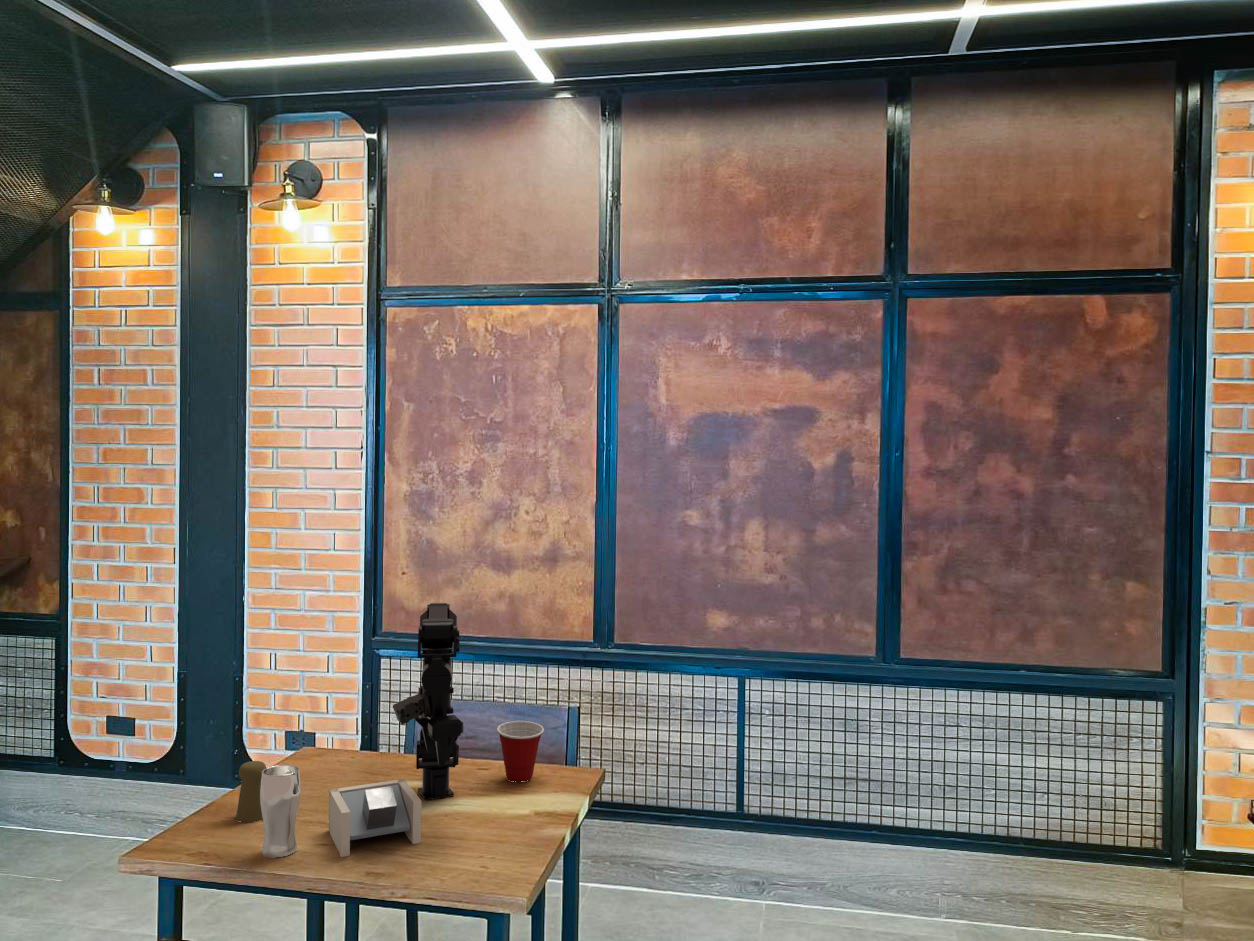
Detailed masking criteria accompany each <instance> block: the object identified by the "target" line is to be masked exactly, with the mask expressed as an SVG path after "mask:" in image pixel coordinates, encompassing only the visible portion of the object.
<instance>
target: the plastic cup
mask: <svg viewBox="0 0 1254 941" xmlns="http://www.w3.org/2000/svg"><path fill="white" fill-rule="evenodd" d="M544 730H545V728H544V726H543V725H541V724H539V723H537V722H533V721H529V720H527V721H526V720H514V721H513V720H512V721H508V722H503V723H501V724H499V725H497V728H496V731H497V733H498V736H499V738H500V739H499V740H500V744H501V751H502V759H503V760H502V761H503V765H504V771H505V776H506V779H508V780H510V781H514V782H515V781H516V782H521V781H527V780H530V779H531V778H532V779H533V776H534V769H535V765H536V762H537V756H538V750H539V745H540V741H541V738H542V735H543V733H544ZM532 779H531V780H532ZM508 780H507V781H508ZM531 780H530V781H531ZM510 781H509V782H510ZM514 782H513V783H514Z"/></svg>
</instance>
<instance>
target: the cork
mask: <svg viewBox="0 0 1254 941" xmlns="http://www.w3.org/2000/svg"><path fill="white" fill-rule="evenodd" d="M266 768H267V764H266V763H265V762H263V761H259V760H252V761H251V760H250V761H247V762H244V763H243V764H241V766H240V767H239V770H238V777H239V779H240V780H241V782H240V789H239V796H238V803H237V809H236V816H235V820H236V821H237V820H238V821H241V822H240V823H243V822H249V823H255V822H254V821H256V822H259V820H260V821H263V820H262V819H263V818H262V812H261V805H260V787H261V777H262V771H263V770H264V769H266ZM238 821H237V822H238Z"/></svg>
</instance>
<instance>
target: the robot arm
mask: <svg viewBox="0 0 1254 941" xmlns="http://www.w3.org/2000/svg"><path fill="white" fill-rule="evenodd" d="M450 606H451V604H449V603H446V602H445V603H444V602H433V603H429V604H427V607H426V610H425V611H424V612H423V613H422V614H421V615H420V616H419V626H418V629H417V630H418V634H417V635H418V636H417V637H418V638H417V659H422V670H421V671H422V673H421V681H420V682H421V685H419V687H418V690H417V692H418V693H417V694H415V695H412V696H409V697H406V698H405V699H402V700H400V701H398V702H396V703H394V704H393V705H392V708H393V712H394V714H395V716H396V720H397V721H398V723H400V724H401V725H405V724H407V723H409V722H410V721H411V720H415V722H416V723H418V724H419V725H420V727H421V729H420V731H419V732H420V733H419V740H416V748H415V750H416V761H415V762H416V763H415V764H416V766H415V768H416V770H422V781H421V782H422V784H421V785H422V787H420V788H417V792H418V791H419V792H418V793H419V795H420V794H421V795H422V796H421V795H420V796H421V797H422V798H423V799H424V800H425V801H426V799H428V800H432V798H434V799H440V798H445V797H446V796H447V797H451V795H453V796H454V795H455V792H454V791H453V790H452V789H451V788H450V768H456V766H458V765H459V763H460V762H459V759H460V758H459V757H460V756H459V755H460V754H459V753H460V752H459V751H460V745H459V744H458V743H457V741H458V738H459V737H460V736H461V735H462V734H463V733H464V722H463V721H461V719H459V717H458V716H456V715H455V714H454V708H453V707H452V705H451V704H452V703H451V702H452V694H455V693H454V692H455V688H454V687H453V686H452V680H453V679H452V678H453V676H452V675H453V674H452V658H457V653H460V630H459V629H458V626H457V625H458V616H457V614H456V613H454V611H452V609H450ZM421 651H422V652H421ZM439 797H440V798H439Z"/></svg>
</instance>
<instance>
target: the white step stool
mask: <svg viewBox="0 0 1254 941" xmlns="http://www.w3.org/2000/svg"><path fill="white" fill-rule="evenodd" d="M394 784H397V785H399V789H400V792H401V796H402V799H403V803H404V806H405V810H406V813H407V817H408V820H409V823H410V830H408V831H403V833H405V835H406V836H407V838H408V839H409V841H410V842H411V844H412V845H417V844H421V842H422V841H421V839H422V831H421V830H422V800H421V798H420V797H419V796H418V795H417V793H416V792H415V791H414V790H413V788H412V787H411V786H410V785H409V783H408V782H407V780H405V779H404V778H401V779H394V780H387V781H382V782H374V783H373V782H372V783H366V784H361V785H360V784H359V785H351V786H345V787H339V788H333V789H332V788H331V789H329V791H328V793H329V794H328V832H329V834H330V837H331V839H332V840H333V843H334V845H335V847H336V850H337V851H339V852H338V854H339V853H340V854H339V856H340V857H341V858H343V857H344V858H345V857H349V856H350V854H351V850H350V848H351V840H350V810H349V809H348V807H347V805H346V803H345V801H344V800H343V798H342V796H341V793H342V792H346V791H353V790H360V789H367V788H374V787H380V786H387V785H394Z"/></svg>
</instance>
